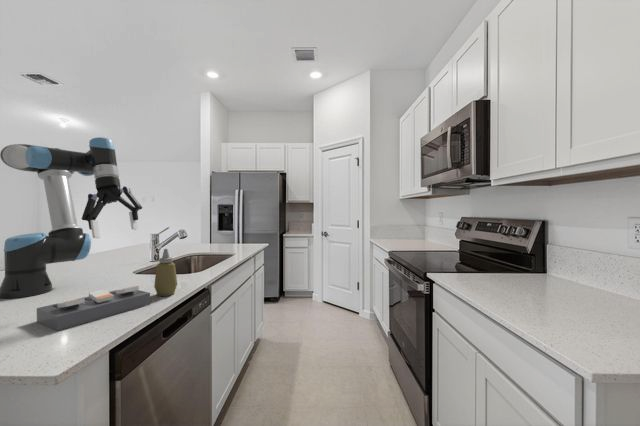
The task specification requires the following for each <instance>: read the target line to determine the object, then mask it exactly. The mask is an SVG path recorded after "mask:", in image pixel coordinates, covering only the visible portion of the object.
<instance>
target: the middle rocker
mask: <svg viewBox="0 0 640 426" xmlns="http://www.w3.org/2000/svg"><path fill="white" fill-rule="evenodd" d="M109 292H110V291H107V290H106V289H99V290H95V291H92V292H88V296H89V297H90V298H92V299H93V300H95V301H96V302H97V303H100V302H104V301H108V300H112V299H113V298H114V296H113V295H112V294H110V293H109Z"/></svg>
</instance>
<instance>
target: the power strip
mask: <svg viewBox="0 0 640 426" xmlns="http://www.w3.org/2000/svg"><path fill="white" fill-rule="evenodd" d="M116 290H117V289H116ZM116 290H112V291H111V290H110V291H108V292H109V293H110V294H112V295H113V296H114V298H113V299H112V300H108V301H104V302H100V303H97V302H96V301H95V300H93V299H92V298H90V297H89V295H88V296H84V297H80V298H79V299H81V298H83V299H84V300H85V302H84V303H80V304H76V305H72V306H68V307H59V308H58V306H57V303H54V304H49V305H46V306H40V307H36V322H37V323H39V324H41V325H44V326H46V327H47V328H50V329H52V330H55V331H57V332H58V331H62V330H66V329H69V328H73V327H76V326H79V325H82V324H83V325H84V324H87V323H90V322H92V321H93V322H94V321H96V320H100V319H103V318H107V317H111V316H114V315H117V314H120V313H121V314H122V313H125V312H128V311H130V310H134V309H139V308H142V307H145V306H148V305H151V292H148V291H144V290H141V289H139V290H135V291H130V292H126V293H119V294H116Z"/></svg>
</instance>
